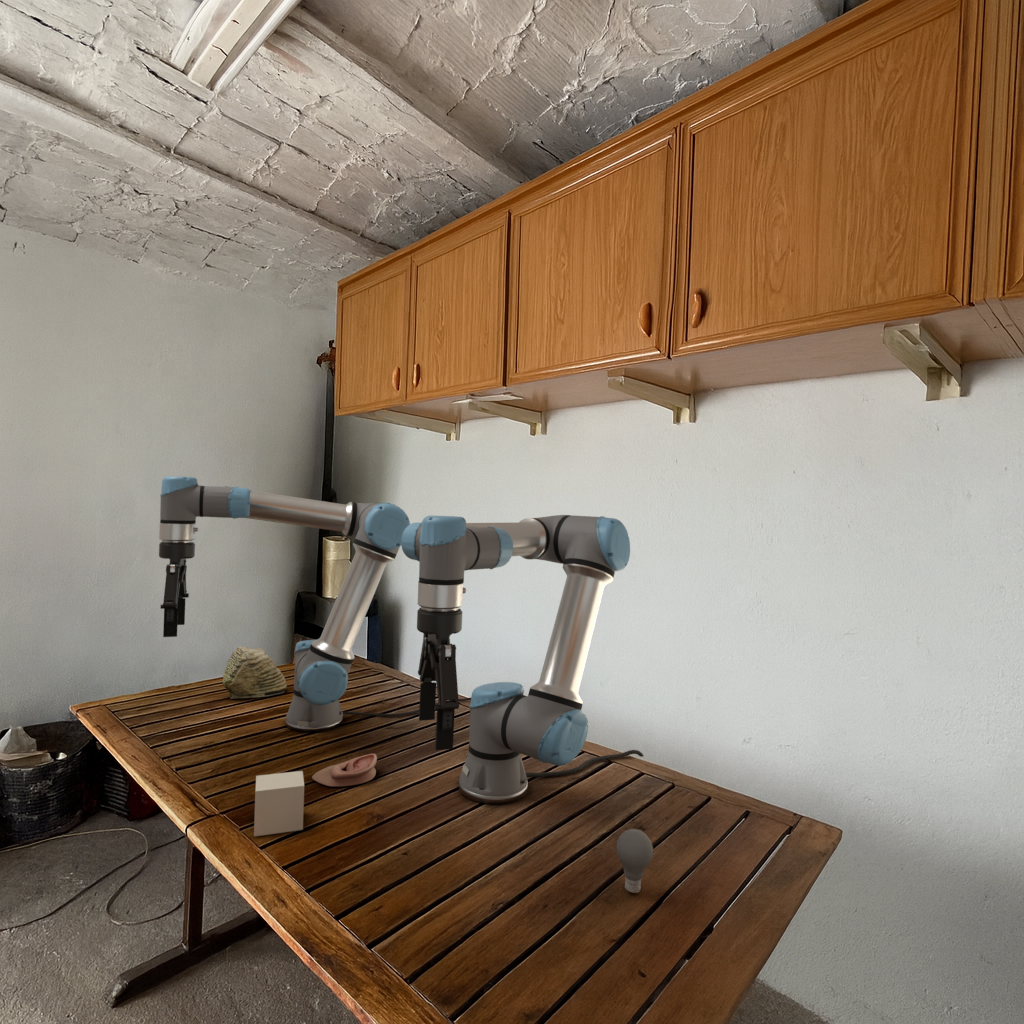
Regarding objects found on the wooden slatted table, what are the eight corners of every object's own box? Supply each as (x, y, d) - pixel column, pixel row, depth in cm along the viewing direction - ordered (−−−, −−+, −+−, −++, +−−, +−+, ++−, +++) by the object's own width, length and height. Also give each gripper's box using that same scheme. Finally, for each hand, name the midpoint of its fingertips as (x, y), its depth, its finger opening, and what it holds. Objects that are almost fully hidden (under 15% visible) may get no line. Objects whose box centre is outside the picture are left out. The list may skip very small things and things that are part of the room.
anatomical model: (305, 765, 139) (330, 745, 150) (304, 783, 139) (330, 762, 151) (361, 773, 137) (383, 752, 148) (360, 791, 137) (382, 769, 148)
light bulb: (610, 879, 108) (613, 822, 108) (644, 879, 109) (647, 822, 109) (619, 902, 102) (622, 840, 102) (655, 901, 103) (658, 840, 103)
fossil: (218, 695, 195) (220, 647, 195) (278, 685, 208) (279, 640, 207) (228, 703, 189) (230, 653, 188) (289, 692, 201) (290, 645, 201)
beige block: (253, 836, 117) (255, 791, 117) (254, 818, 124) (256, 775, 124) (302, 829, 120) (304, 785, 120) (301, 812, 127) (302, 770, 127)
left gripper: (188, 545, 140) (185, 641, 140) (200, 537, 163) (197, 619, 164) (150, 545, 137) (146, 642, 138) (167, 537, 160) (164, 620, 161)
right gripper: (482, 621, 96) (476, 761, 96) (445, 595, 119) (440, 707, 120) (433, 622, 93) (427, 765, 94) (405, 596, 117) (400, 710, 117)
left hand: (174, 630), depth 151 cm, fingers open, 13 cm apart
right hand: (434, 733), depth 107 cm, fingers open, 13 cm apart
